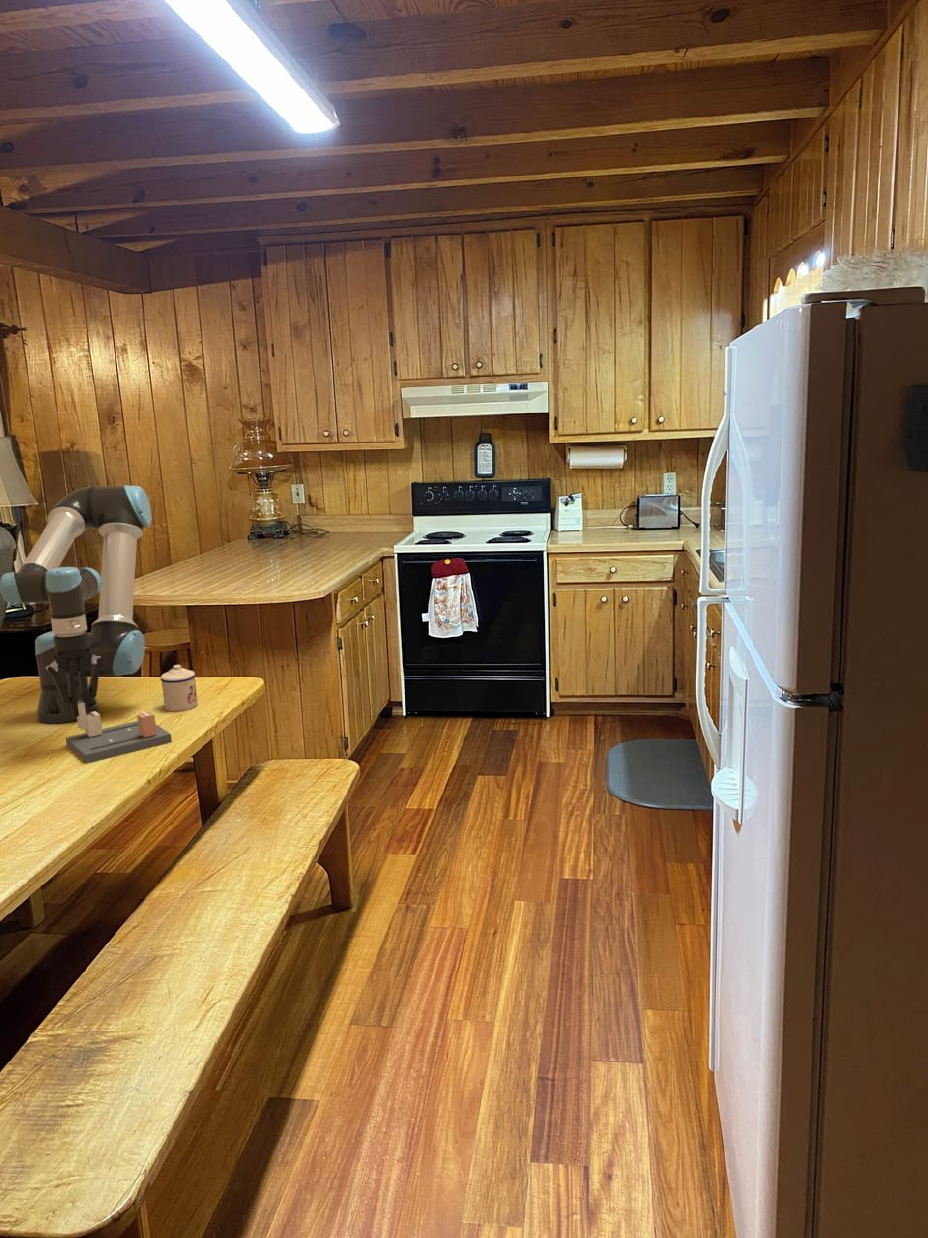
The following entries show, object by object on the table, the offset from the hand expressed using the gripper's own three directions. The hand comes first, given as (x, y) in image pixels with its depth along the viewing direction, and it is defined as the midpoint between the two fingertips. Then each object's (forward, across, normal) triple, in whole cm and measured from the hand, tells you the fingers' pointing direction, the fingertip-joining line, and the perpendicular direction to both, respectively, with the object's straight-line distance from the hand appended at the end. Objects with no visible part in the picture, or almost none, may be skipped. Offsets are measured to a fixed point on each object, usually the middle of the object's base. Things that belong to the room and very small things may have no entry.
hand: (83, 727), depth 217 cm
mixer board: (+4, +6, -5) cm, 9 cm away
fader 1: (+2, +2, 0) cm, 3 cm away
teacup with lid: (+5, +30, +14) cm, 33 cm away
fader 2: (+2, +12, -10) cm, 16 cm away
